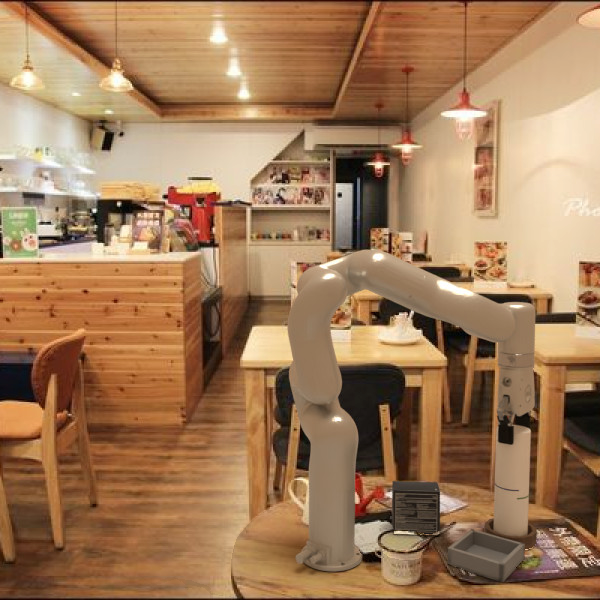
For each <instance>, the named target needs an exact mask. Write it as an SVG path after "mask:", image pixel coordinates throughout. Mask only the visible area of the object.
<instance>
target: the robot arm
mask: <svg viewBox="0 0 600 600" xmlns="http://www.w3.org/2000/svg"><path fill="white" fill-rule="evenodd" d="M364 290H365V291H369V292H371V293H374V294H376V295H378V296H380V297H383V299H384V298H385V299H387V300H390V301H391V302H393V303H395V304H398V305H400V306H402V307H404V308H406V309H409V310H410V311H413V312H415V313H417V314H421V315H423V316H425V317H427V318H428V317H429V318H430V319H431V318H432V319H435V320H439V321H443V322H444V323H445V322H446V323H449V324H451V325H453V326H455V327H456V326H457V327H459V328H461V329H462V330H463V331H464V332H465V333H466V334H468V335H470V336H473V337H475V338H478V339H483V340H486V341H489V342H491V343H497V367H498V368H499V377H498V384H497V385H498V386H497V407H496V414H497V415H496V418H497V426H498V442H499V443H503V444H509V445H512V444H513V443H514V426H512V425H519V426H524V427H527V428H529V429H530V430H531V414H532V410H533V409H534V408H535V405H536V397H535V396H536V395H535V394H536V393H535V374H534V369H535V352H536V351H535V347H536V345H535V341H536V308H535V306H534V305H533V304H532V303H530V302H523V301H521V302H520V301H511V302H510V301H508V302H504V303H503V302H502V303H498V302H496V301H493V300H492V299H490V298H488V297H485V296H484V295H481V294H478V293H476V292H474V291H472V290H470V289H467V288H464V287H462V286H459V285H457V284H455V283H453V282H451V281H449V280H447V279H445V278H443V277H441V276H438V275H436V274H433V273H431V272H429V271H426V270H424V269H422V268H421V267H418V266H416V265H414V264H412V263H410V262H407V261H406V260H403V259H402V258H400V257H397V256H395V255H393V254H390V253H388V252H386V251H382V250H379V249H362V250H358V251H355V252H353V253H350V254H347V255H344V256H340V257H338V258H335V259H333V260H329V261H327V262H324V263H323V262H322V263H321V264H320V263H319V264H318V265H315V266H312V267H310V268H307V269H306V270H304V272H302V273H301V274H300V276H299V278H298V279H297V284H296V291H297V296H296V297H295V298H294V300H293V302H292V305H291V307H290V310H289V313H288V316H287V317H288V318H287V336H288V341H289V346H290V353H291V356H292V359H293V360H292V361H291V363H290V366H289V369H288V370H289V371H288V379H289V383H290V389H291V392H292V397H293V402H294V404H295V409H296V413H297V416H298V421H299V424H300V427H301V429H302V431H303V433H304V435H305V436H306V437H307V439H308V440H309V442H310V456H309V464H308V540H306V545H304V546H303V548H302V549H301V551H300V552H299V553H297V554H296V555H295V561H296V563H297V564H306V566H308V567H309V568H313V569H315V570H319V571H322V572H323V571H324V572H344V571H348V570H351V569H353V568H355V567H356V566H359V564H361V563H362V559H363V553H362V554H361V553H360V551H359V549H360V550H361V548H360V547H358V545H356V543H355V533H356V532H355V530H356V528H355V527H356V525H355V524H356V523H355V522H356V519H355V518H356V516H355V515H356V464H357V461H356V460H357V454H358V448H359V446H358V445H359V432H358V428H357V425H356V423H355V421H354V419H353V418H352V416H351V415H350V414H349V413H348V412H347V411H346V410H345V409H343V408H342V407H341V404H340V401H339V395H340V393H341V391H342V386H343V379H342V374H341V371H340V366H339V364H338V359H337V356H336V352H335V351H336V350H335V347H334V344H333V338H332V332H331V326H332V325H331V324H332V320H333V317H334V315H335V313H336V312H337V311H338V310H339V308H340V307H342V305H343V304H344V303H345V302H346V299H347V297H349V296H352V295H354V294H357V293H358V292H361V291H364ZM508 417H509V418H508ZM514 420H515V424H514Z"/></svg>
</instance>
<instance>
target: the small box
mask: <svg viewBox="0 0 600 600" xmlns="http://www.w3.org/2000/svg"><path fill="white" fill-rule="evenodd" d="M391 486H392V487H391V489H392V491H391V492H392V494H391V495H392V497H391V500H392V502H391V509H392V510H391V514H392V515H391V518H392V519H391V522H392V523H391V528H392V527H393V529H392V531H393V530H408V531H417V532H421V533H424V534H433V533H436V532H438V531H441V489H440V486H439V483H438V482H437V481H406V480H404V481H403V480H397V481H396V480H392V485H391Z"/></svg>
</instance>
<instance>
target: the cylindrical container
mask: <svg viewBox="0 0 600 600" xmlns="http://www.w3.org/2000/svg"><path fill="white" fill-rule="evenodd" d="M512 426H514V443H513V444H512V445H509V444H503V443H499V442H498V425H497V426H496V427H495V431H496V432H495V459H494V460H495V462H494V464H495V465H494V491H493V492H494V498H493V500H494V501H493V502H494V503H493V518H494V528H493V530H494V531H495V532H497V533H500V534H504V535H507V536H524V535H527V534H528V523H529V502H530V501H529V500H530V498H529V497H530V472H531V471H530V468H531V439H532V438H531V437H532V436H531V435H532V431H531V428H530V429H529V428H527V427H524V426H519V425H515V424H512Z"/></svg>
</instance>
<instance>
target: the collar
mask: <svg viewBox="0 0 600 600" xmlns="http://www.w3.org/2000/svg"><path fill="white" fill-rule="evenodd" d="M493 528H494V517H493V518H489V519H488V520H487V521H485V522H484V533H488V534H491V535H495V536H499V537H502V538H506V539H509V540H513V541H516V542H520V543H523V544H525V549H529V548H532V547H533V546H535V544H536V545H537V543H538V542H537V539H538V538H537V537H538V530H537V529H536V527H535V525H533V524H531V523H530V522H528V534H527V535H524V536H507V535H504V534H500V533H497V532H495V531H494V530H493ZM535 547H536V546H535Z"/></svg>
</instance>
